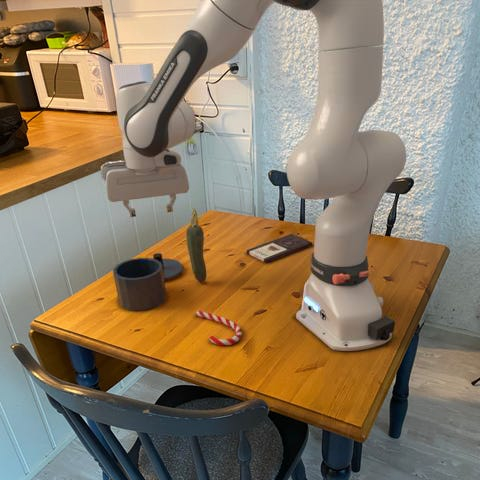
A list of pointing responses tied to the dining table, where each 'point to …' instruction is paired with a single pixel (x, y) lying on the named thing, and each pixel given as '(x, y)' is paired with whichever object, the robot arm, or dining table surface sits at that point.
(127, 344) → the dining table surface
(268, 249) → the chocolate bar
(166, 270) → the lid
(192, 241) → the vegetable
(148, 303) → the dark grey pot
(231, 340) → the candy cane
